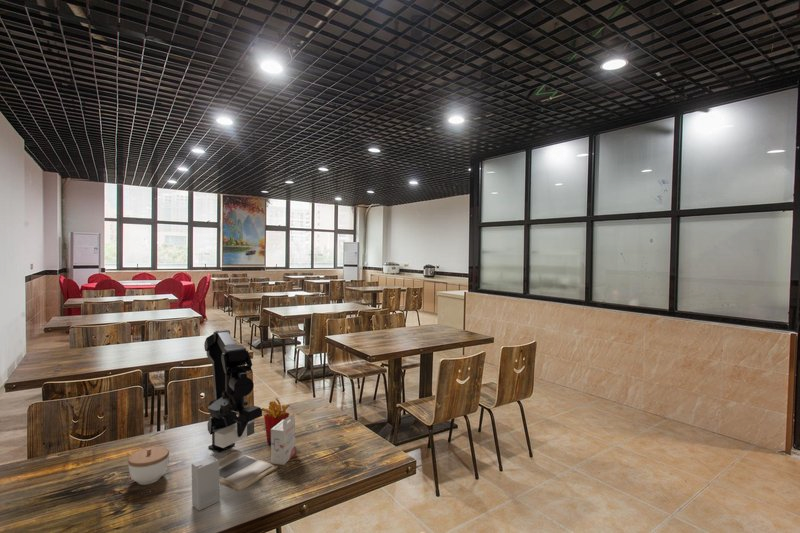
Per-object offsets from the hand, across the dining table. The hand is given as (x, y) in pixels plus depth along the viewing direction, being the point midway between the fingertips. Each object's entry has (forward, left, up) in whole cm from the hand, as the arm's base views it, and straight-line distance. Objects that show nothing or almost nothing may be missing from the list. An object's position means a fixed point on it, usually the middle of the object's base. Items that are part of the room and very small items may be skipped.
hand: (235, 435), depth 132 cm
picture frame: (+1, 0, -11) cm, 11 cm away
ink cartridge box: (+8, +13, -12) cm, 19 cm away
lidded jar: (-18, -17, -12) cm, 27 cm away
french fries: (-5, +21, -12) cm, 24 cm away
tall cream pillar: (0, 0, -1) cm, 1 cm away
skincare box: (+8, -16, -12) cm, 21 cm away
